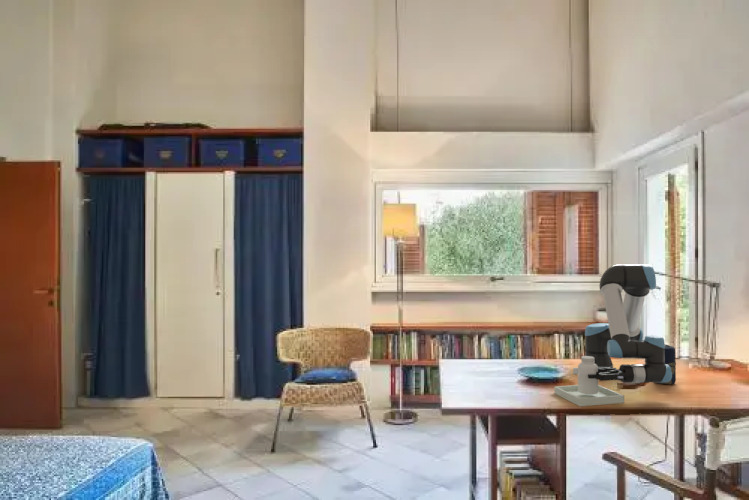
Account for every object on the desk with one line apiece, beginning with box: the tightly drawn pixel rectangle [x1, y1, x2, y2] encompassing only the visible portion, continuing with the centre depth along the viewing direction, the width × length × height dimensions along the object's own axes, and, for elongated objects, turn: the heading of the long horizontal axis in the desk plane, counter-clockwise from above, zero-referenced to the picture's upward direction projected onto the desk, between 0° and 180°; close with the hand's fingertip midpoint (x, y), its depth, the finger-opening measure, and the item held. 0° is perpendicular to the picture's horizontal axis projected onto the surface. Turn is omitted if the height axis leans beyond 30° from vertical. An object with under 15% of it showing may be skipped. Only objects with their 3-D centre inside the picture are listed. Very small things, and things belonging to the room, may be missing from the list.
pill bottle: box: [577, 355, 599, 394], centre depth 237 cm, size 8×8×15 cm
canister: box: [661, 344, 677, 385], centre depth 260 cm, size 10×10×18 cm
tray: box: [553, 384, 625, 407], centre depth 237 cm, size 20×20×3 cm
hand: (576, 373), depth 237 cm, fingers closed on pill bottle, 8 cm apart
